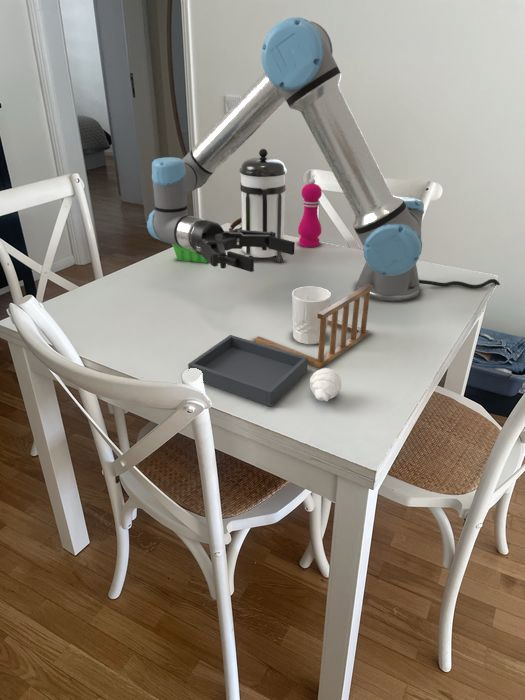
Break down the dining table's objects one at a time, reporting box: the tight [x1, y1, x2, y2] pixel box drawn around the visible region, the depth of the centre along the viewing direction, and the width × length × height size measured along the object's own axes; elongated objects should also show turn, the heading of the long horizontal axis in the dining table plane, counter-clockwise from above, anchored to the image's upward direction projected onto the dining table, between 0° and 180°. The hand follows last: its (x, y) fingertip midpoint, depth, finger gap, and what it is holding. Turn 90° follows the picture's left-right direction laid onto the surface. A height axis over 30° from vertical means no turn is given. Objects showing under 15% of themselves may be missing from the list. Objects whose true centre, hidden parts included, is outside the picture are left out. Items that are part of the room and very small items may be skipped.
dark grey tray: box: [187, 334, 309, 407], centre depth 100 cm, size 18×14×3 cm
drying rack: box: [253, 284, 373, 369], centre depth 110 cm, size 18×16×11 cm
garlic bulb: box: [309, 367, 342, 402], centre depth 91 cm, size 6×6×5 cm
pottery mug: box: [228, 217, 242, 232], centre depth 171 cm, size 12×10×8 cm
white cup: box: [291, 285, 332, 345], centre depth 111 cm, size 8×8×10 cm
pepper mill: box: [297, 177, 323, 248], centre depth 163 cm, size 7×7×20 cm
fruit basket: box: [171, 244, 209, 264], centre depth 153 cm, size 11×9×11 cm
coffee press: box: [239, 148, 288, 263], centre depth 149 cm, size 17×16×30 cm
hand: (274, 256), depth 111 cm, fingers open, 13 cm apart
